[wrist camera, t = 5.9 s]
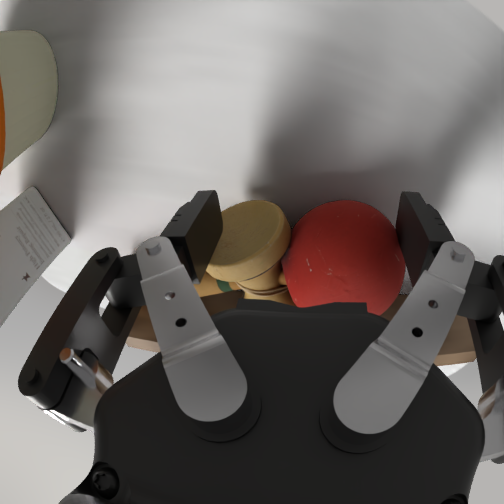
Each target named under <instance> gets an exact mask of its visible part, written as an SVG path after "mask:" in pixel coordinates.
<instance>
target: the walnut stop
mask: <svg viewBox="0 0 504 504" xmlns="http://www.w3.org/2000/svg"><path fill="white" fill-rule="evenodd" d="M244 292H245V291H228V292H224V293H219V294H213V295H208V296H203V297H200V299H201V300H202V302H203V304H204V306H205V308H206V310H207V312H208V314H209V316H211V315H213V314H215V313H218V312H220V311H223V310H226V309H231V308H236V306H237V302H238V299H239V298H242V296H243V294H244ZM407 297H408V295H398V296H397V298H396V299H395V300H394V302H393V303H392V304H391V306H390V307H389V308H388V309H387V310H386V311H385V312H384V313H382V314H381V315H380V316H381V317H383V318H385V319H387V320H389V321H391V320H392V319H393V317H394V316H395V315H396V313H397V312H398V310H399V309H400V307H401V306H402V304H403V303H404V302H405V300H406V299H407ZM126 344H127V345H128V346H129V347H133V348H138V349H143V350H148V351H153V352H158V353H159V352H160V351H161V350H160V347H159V344H158V341H157V338H156V335H155V332H154V329H153V325H152V322H151V319H150V316H149V312H148V309H147V305H144V306H142V307H141V309H140V312H139V314H138V316H137V318H136V320H135V322H134V325H133V327H132V329H131V331H130V334H129V336H128V338H127V340H126ZM475 359H476V353H475V348H474V344H473V340H472V336H471V332H470V328H469V324H468V320H467V318H466V317H463V316H459V315H456V316H455V319H454V321H453V323H452V325H451V328H450V330H449V332H448V334H447V336H446V338H445V340H444V342H443V344H442V346H441V348H440V350H439V352H438V354H437V356H436V358H435V360H434V362H433V363H434V364H435V365H436V366H443V365H451V364H459V363H467V362H473V361H474V360H475Z"/></svg>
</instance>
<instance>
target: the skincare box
mask: <svg viewBox="0 0 504 504" xmlns="http://www.w3.org/2000/svg"><path fill="white" fill-rule="evenodd" d="M70 242H71V239H70V237H69V235H68V234H67V233H66V231H65V230H64V229H63V227H62V226H61V224H60V223H59V221H58V220H57V218H56V217H55V215H54V214H53V212H52V211H51V210H50V208H49V207H48V205H47V204H46V202H45V201H44V199H43V198H42V196H41V195H40V193H39V192H38V190H37V189H36V188H35V187H33V186H31V187H30V188H28V189H27V190H26V191H24V192H23V193H22V194H21V195H19V196H18V197H17V198H15V199H14V200H13V201H12V202H10V203H9V204H8V205H7V206H6V207H4V208H3V209H2V210H1V211H0V327H1V326H2V325H3V323H4V322H5V321H6V319H7V318H8V316H9V315H10V314H11V312H12V311H13V310H14V308H15V307H16V306H17V304H18V303H19V302H20V300H21V299H22V298H23V296H24V295H25V294H26V293H27V291H28V290H29V289H30V288H31V286H32V285H33V284H34V283H35V282H36V280H37V279H38V278H39V277H40V276H41V274H42V273H43V272H44V271H45V270H46V268H47V267H48V266H49V265H50V264H51V263H52V262H53V261H54V259H55V258H56V257H57V256H58V255H59V254H60V253H61V252H62V251H63V249H64V248H65V247H66V246H67V245H68V244H70Z"/></svg>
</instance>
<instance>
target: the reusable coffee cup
mask: <svg viewBox="0 0 504 504" xmlns="http://www.w3.org/2000/svg"><path fill="white" fill-rule="evenodd" d="M57 93H58V73H57V66H56V61H55V57H54V54H53V51H52V49H51V47H50V45H49V43H48V41H47V40H46V39H45V38H44V36H42V35H41V34H40V33H38V32H36V31H32V30H16V31H1V32H0V174H1V171H2V170H3V169H4V168H5V167H7V166H8V165H9V164H10V163H11V162H12V161H13V160H14V159H16V158H17V157H18V156H19V155H20V154H21V153H23V152H24V151H25V150H26V149H27V148H29V147H30V146H31V145H32V144H34V143H35V142H36V141H37V140H39V139H40V138H41V137H42V136H43V135H44V133H45V132H46V131H47V129H48V127H49V125H50V123H51V121H52V118H53V115H54V112H55V107H56V102H57Z"/></svg>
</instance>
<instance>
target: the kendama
mask: <svg viewBox="0 0 504 504" xmlns="http://www.w3.org/2000/svg"><path fill="white" fill-rule="evenodd" d="M221 215H222V220H223V231H222V235H221V237H220V239H219V241H218V244H217V246H216V248H215V251H214V253H213V255H212V257H211V260H210V262H209V264H208V267H207V269H206V271H205V274H204V276H203V278H202V281H201V283H200V284H193V285H194V287H195V289H196V291H197V293H198V295H199V297H203V296H208V295H213V294H219V293H224V292H228V291H233V290H239V289H242V290H243V291H245V292H244V294H243V296H242V298H244V299H263V300H272V301H276V302H280V303H284V304H288V305H292V306H296V307H310V306H316V305H321V304H327V303H333V302H367V311H368V312H369V313H373V314H376V315H379V316H380V315H381V314H382V313H384V312H385V311H386V310H387V309H388V308H389V307H390V306H391V304H392V303H393V302H394V300H395V299H396V298H397V296H398V294H399V292H400V289H401V287H402V284H403V279H404V275H405V260H404V257H403V254H402V251H401V248H400V245H399V242H398V237H397V233H396V229H395V228H394V226H393V225H392V223H391V222H390V221H389V220H388V219H387V218H386V217H385V216H384V215H383V214H382V213H381V212H379V211H378V210H377V209H375V208H374V207H372V206H370V205H367V204H365V203H361V202H357V201H351V200H339V201H333V202H328V203H325V204H322V205H320V206H317V207H316V208H314V209H312V210H311V211H309V212H308V213H306V214H305V215H304V216H303V217H302V218H301V219H300V220H299V221H298V222H297V223H296V225H295V226H294V227H293V229H291V228H290V225H289V223H288V221H287V219H286V217H285V215H284V213H283V211H282V210H281V209H280V208H279V207H278V206H277V205H276V204H274V203H272V202H269V201H265V200H252V201H246V202H242V203H239V204H236V205H234V206H232V207H229V208H228V209H226V210H224V211H222V212H221Z"/></svg>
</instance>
